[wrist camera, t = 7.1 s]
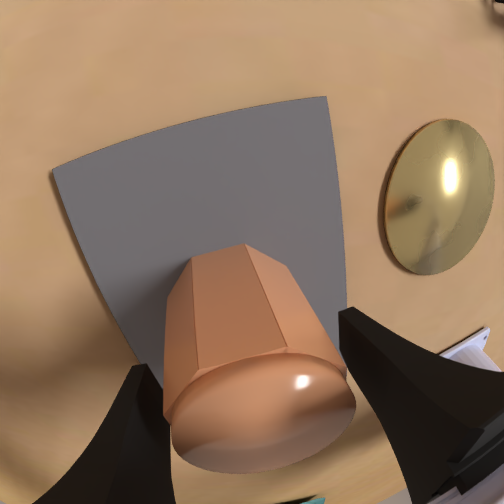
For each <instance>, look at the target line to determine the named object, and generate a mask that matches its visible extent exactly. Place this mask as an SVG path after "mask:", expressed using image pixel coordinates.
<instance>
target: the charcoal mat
mask: <svg viewBox="0 0 504 504" xmlns="http://www.w3.org/2000/svg"><path fill="white" fill-rule="evenodd" d="M52 171H53V174H54V178H55V181H56V184H57V187H58V190H59V193H60V195H61V198H62V201H63V204H64V207H65V209H66V212H67V215H68V217H69V220H70V222H71V225H72V228H73V230H74V233H75V235H76V238H77V240H78V242H79V245H80V247H81V249H82V252H83V254H84V256H85V259H86V261H87V263H88V265H89V268H90V270H91V272H92V274H93V276H94V278H95V280H96V283H97V285H98V287H99V289H100V291H101V293H102V295H103V297H104V299H105V301H106V303H107V305H108V307H109V309H110V311H111V313H112V314H113V316H114V318H115V320H116V322H117V324H118V326H119V327H120V329H121V331H122V333H123V335H124V336H125V338H126V340H127V342H128V343H129V345H130V347H131V349H132V350H133V352H134V354H135V355H136V357H137V359H138V360H139V362H140V364H145V363H147V364H148V366H149V368H150V369H151V371H152V373H153V374H154V376H155V378H156V379H157V381H158V382H159V384H160V386H161V387H162V389H163V382H164V347H165V326H166V309H167V297H168V296H169V294H170V292H171V290H172V289H173V287H174V285H175V284H176V282H177V280H178V279H179V277H180V275H181V274H182V272H183V270H184V268H185V267H186V265H187V263H188V262H189V260H190V259H191V258H192V257H194V256H198V255H202V254H206V253H209V252H213V251H217V250H221V249H224V248H228V247H232V246H236V245H240V244H243V243H244V244H246V245H248V246H250V247H252V248H254V249H256V250H258V251H259V252H261V253H263V254H265V255H267V256H269V257H271V258H272V259H274V260H276V261H278V262H280V263H282V264H284V265H286V266H287V268H288V269H289V271H290V273H291V274H292V276H293V278H294V279H295V281H296V283H297V284H298V286H299V288H300V289H301V291H302V292H303V294H304V296H305V297H306V299H307V301H308V302H309V304H310V306H311V307H312V309H313V311H314V312H315V314H316V316H317V317H318V319H319V321H320V323H321V324H322V326H323V328H324V329H325V331H326V333H327V334H328V336H329V338H330V339H331V341H332V343H333V344H334V346H335V348H336V350H337V351H338V353H339V355H340V356H341V358H342V360H343V362H344V363H345V361H344V359H343V357H342V355H341V353H340V350H339V323H338V311H341V310H344V309H347V293H346V268H345V250H344V235H343V222H342V211H341V200H340V190H339V181H338V172H337V164H336V156H335V148H334V141H333V134H332V127H331V121H330V114H329V108H328V102H327V97H326V96H321V97H313V98H305V99H298V100H291V101H285V102H278V103H272V104H267V105H261V106H256V107H250V108H245V109H240V110H236V111H231V112H226V113H222V114H217V115H213V116H209V117H205V118H201V119H197V120H193V121H189V122H185V123H182V124H178V125H174V126H171V127H167V128H164V129H161V130H157V131H154V132H151V133H147V134H144V135H141V136H138V137H135V138H132V139H129V140H126V141H123V142H120V143H117V144H114V145H112V146H109V147H106V148H103V149H101V150H98V151H95V152H93V153H90V154H88V155H85V156H82V157H80V158H77V159H75V160H73V161H70V162H68V163H65V164H63V165H61V166H58V167H56V168H54V169H52ZM345 365H346V364H345ZM346 367H347V366H346ZM346 376H347V372H346Z"/></svg>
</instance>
